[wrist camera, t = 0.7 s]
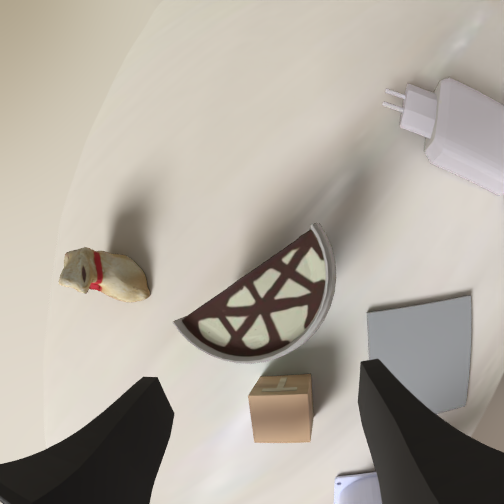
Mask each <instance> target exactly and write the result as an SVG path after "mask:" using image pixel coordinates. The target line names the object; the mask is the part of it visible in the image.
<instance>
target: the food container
mask: <svg viewBox="0 0 504 504" xmlns="http://www.w3.org/2000/svg"><path fill="white" fill-rule="evenodd" d="M335 283H336V267H335V259H334V255H333V251H332V247H331V245H330V242H329V240H328V237H327V235H326V233H325V231H324V230H323V228H322V226H321V225H320V223H315V224H311V226H310V230H309V231H308V232H306V233H305V234H303V235H301V236H300V237H299V238H298V239H297V240H296V241H294V242H293V243H291V244H290V245H289V246H287V247H286V248H284V249H283V250H281V251H280V252H279V253H277V254H276V255H274V256H273V257H271V258H270V259H269V260H267V261H266V262H264V263H263V264H261V265H260V266H258V267H257V268H256V269H254V270H253V271H251V272H250V273H248V274H247V275H245V276H244V277H242V278H241V279H239V280H238V281H237V282H235V283H234V284H232V285H231V286H230V287H228V288H227V289H226V290H224V291H223V292H221V293H220V294H218V295H217V296H215V297H214V298H212V299H211V300H210V301H208V302H207V303H205V304H204V305H202V306H201V307H199V308H198V309H196V310H195V311H194V312H192V313H191V314H189V315H188V316H185V317H183V318H180V319H178V320H175V321H173V324H174V325H175V326H176V328H177V329H178V330H179V332H180V333H181V334H182V335H183V336H184V337H185V338H186V339H187V340H188V341H189V342H190V343H192V344H193V345H194V346H196V347H197V348H198V349H200V350H202V351H203V352H205V353H207V354H209V355H211V356H214V357H216V358H219V359H222V360H224V361H229V362H234V363H247V364H252V363H260V362H266V361H269V360H273V359H276V358H279V357H281V356H283V355H285V354H287V353H289V352H291V351H293V350H295V349H297V348H298V347H299V346H301V345H302V344H304V343H305V342H306V341H307V340H308V339H309V338H310V337H311V336H312V335H313V334H314V333H315V332H316V331H317V330H318V328H319V327H320V325H321V324H322V322H323V321H324V319H325V317H326V315H327V313H328V311H329V309H330V306H331V303H332V299H333V296H334V292H335Z"/></svg>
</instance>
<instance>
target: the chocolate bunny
mask: <svg viewBox="0 0 504 504" xmlns="http://www.w3.org/2000/svg"><path fill="white" fill-rule="evenodd" d="M59 284H60V285H61V286H65V287H71V288H74V289H76V290H77V291H79V292H82V293H85V294H86V293H87V292H88V290H89V289H93V290H94V289H95V290H98V291H101V292H102V293H104V294H106V295H108V296H110V297H112V298H115V299H117V300H120V301H124V302H137V301H142V300H145V299H146V298H148V297H149V296H150V291H149V289H148V287H147V279H146V277H145V274H144V272H143V270H142V269H141V268H140V267H139V266H138V265H137V264H136V263H135V261H133V260H132V259H130V258H129V257H127V256H125V255H119V254H110V253H108V252H105V251H94V250H91V249H90V248H87V247H84V248H81V249H78V250H74V251H70V252H67V253H66V254H65V258H64V269H63V270H62V273H61V275H60V279H59Z"/></svg>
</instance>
